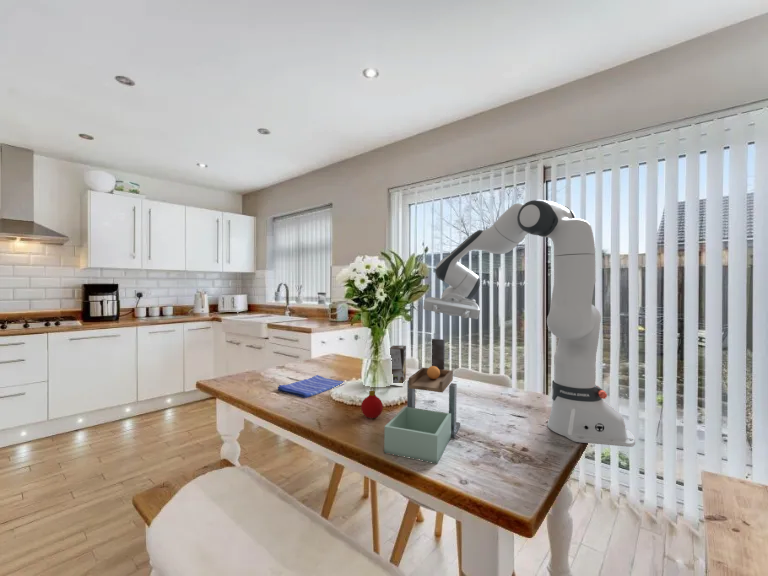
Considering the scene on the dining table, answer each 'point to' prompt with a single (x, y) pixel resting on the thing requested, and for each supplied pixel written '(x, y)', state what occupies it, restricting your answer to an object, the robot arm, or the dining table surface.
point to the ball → (433, 372)
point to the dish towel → (309, 386)
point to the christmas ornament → (372, 405)
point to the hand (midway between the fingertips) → (450, 313)
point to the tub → (418, 434)
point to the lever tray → (438, 357)
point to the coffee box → (398, 363)
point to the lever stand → (452, 405)
